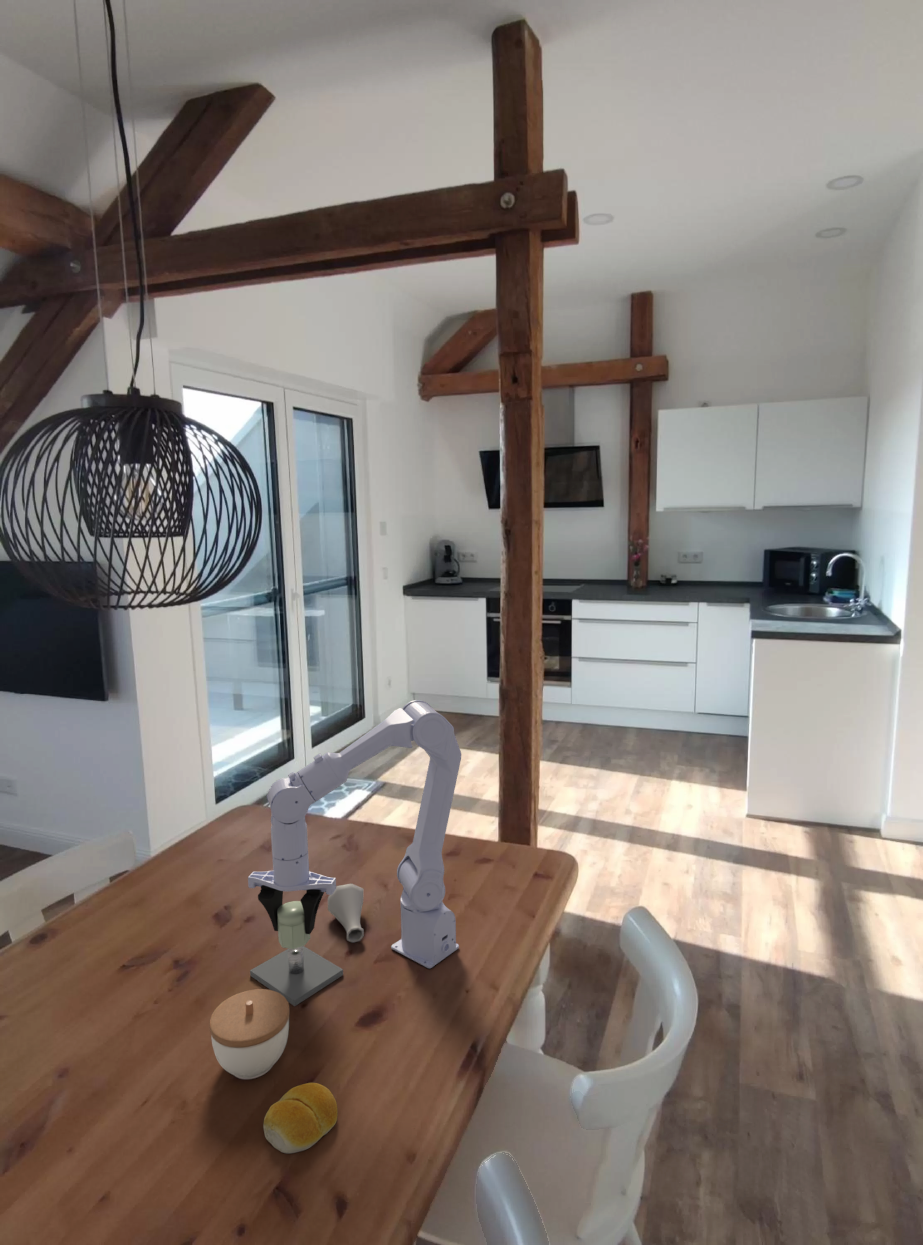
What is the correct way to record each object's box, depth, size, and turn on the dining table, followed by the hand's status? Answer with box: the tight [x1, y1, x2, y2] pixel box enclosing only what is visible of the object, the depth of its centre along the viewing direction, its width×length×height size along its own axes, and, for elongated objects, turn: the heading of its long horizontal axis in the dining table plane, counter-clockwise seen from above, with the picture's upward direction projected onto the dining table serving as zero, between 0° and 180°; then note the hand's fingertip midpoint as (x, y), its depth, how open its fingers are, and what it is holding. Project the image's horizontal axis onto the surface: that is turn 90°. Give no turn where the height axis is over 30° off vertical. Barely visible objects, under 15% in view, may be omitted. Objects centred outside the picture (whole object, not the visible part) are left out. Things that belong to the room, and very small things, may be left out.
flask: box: [327, 883, 365, 944], centre depth 134 cm, size 7×7×10 cm
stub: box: [288, 947, 304, 975], centre depth 121 cm, size 2×2×4 cm
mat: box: [249, 945, 344, 1007], centre depth 121 cm, size 12×10×1 cm
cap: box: [277, 900, 311, 949], centre depth 120 cm, size 5×5×6 cm
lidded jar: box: [209, 988, 290, 1080], centre depth 101 cm, size 11×11×9 cm
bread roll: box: [262, 1082, 338, 1154], centre depth 92 cm, size 8×9×4 cm
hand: (294, 929), depth 120 cm, fingers closed on cap, 5 cm apart
